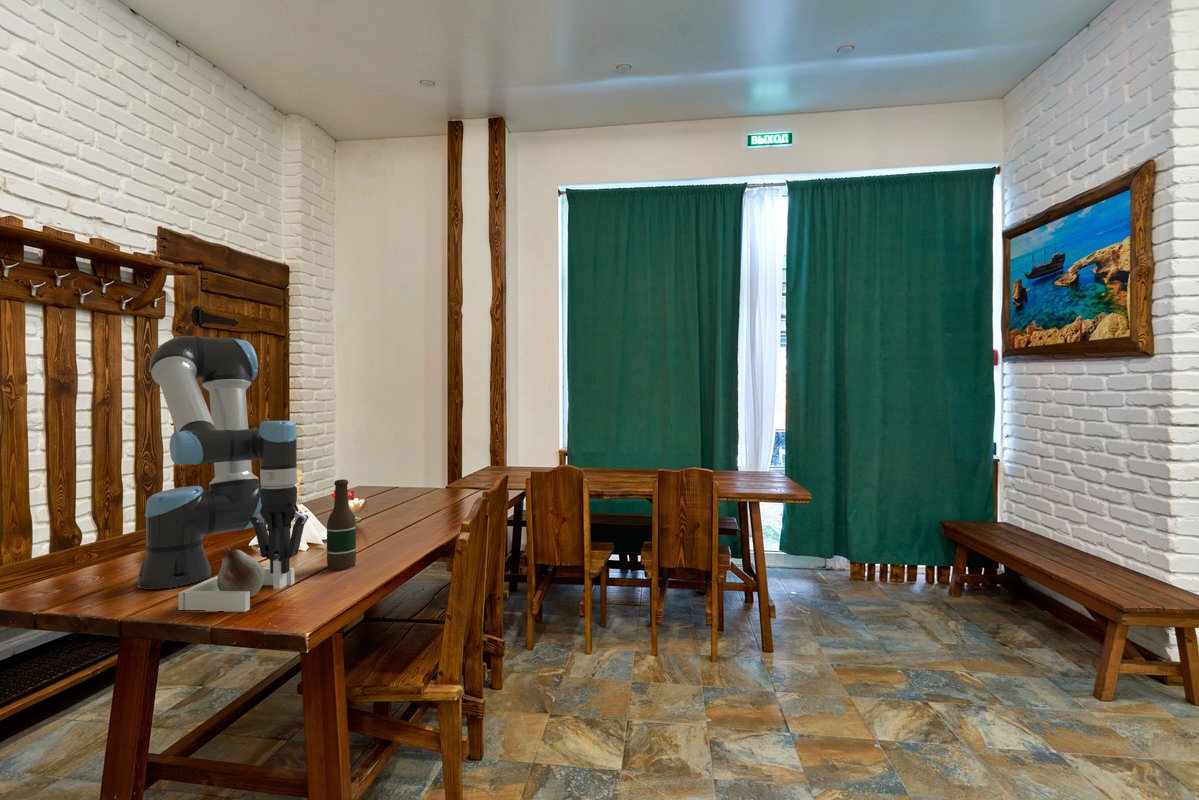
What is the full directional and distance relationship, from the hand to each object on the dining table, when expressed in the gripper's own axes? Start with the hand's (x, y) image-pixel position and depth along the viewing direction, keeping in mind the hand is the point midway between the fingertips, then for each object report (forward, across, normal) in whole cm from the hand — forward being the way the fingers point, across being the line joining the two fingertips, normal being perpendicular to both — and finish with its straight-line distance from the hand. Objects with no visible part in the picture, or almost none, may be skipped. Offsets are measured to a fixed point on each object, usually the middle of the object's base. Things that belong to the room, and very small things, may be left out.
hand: (280, 587), depth 134 cm
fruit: (+3, -10, 0) cm, 10 cm away
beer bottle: (+2, +2, +25) cm, 25 cm away
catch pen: (+2, -9, 0) cm, 10 cm away
